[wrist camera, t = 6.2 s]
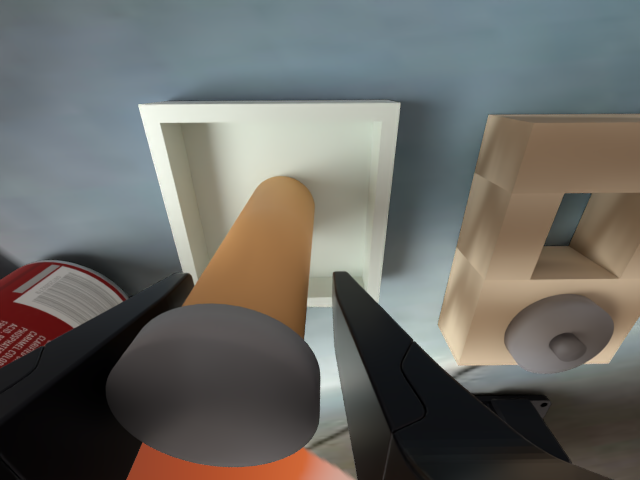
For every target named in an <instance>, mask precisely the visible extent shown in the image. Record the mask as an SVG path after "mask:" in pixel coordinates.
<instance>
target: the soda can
mask: <svg viewBox="0 0 640 480" xmlns="http://www.w3.org/2000/svg"><path fill="white" fill-rule="evenodd" d="M127 299H129V297H128V296H127V295H126V294H125V292H124V291H123V290H122V289H121V288H120V287H119V286H117V285H116V284H115V283H114V282H113V281H111V280H110V279H108V278H107V277H105V276H104V275H102V274H100V273H98V272H97V271H94V270H92V269H90V268H88V267H85V266H82V265H79V264H76V263H71V262H66V261H59V260H42V261H36V262H32V263H29V264H26V265H24V266H22V267H20V268H19V269H17V270H15V271H14V272H12V273H11V274H9V275H7V276H6V277H4V278H3V279H1V280H0V368H1V367H3V366H5V365H7V364H9V363H11V362H13V361H15V360H17V359H18V358H20V357H22V356H24V355H26V354H28V353H30V352H31V351H33V350H35V349H37V348H39V347H40V346H45V344H46V343H48V342H50V341H52V340H54V339H55V338H57V337H59V336H61V335H63V334H65V333H66V332H68V331H70V330H72V329H74V328H76V327H77V326H79V325H81V324H83V323H85V322H87V321H88V320H90V319H92V318H94V317H96V316H98V315H99V314H101V313H103V312H105V311H107V310H109V309H110V308H112V307H114V306H116V305H118V304H120V303H121V302H123V301H125V300H127Z"/></svg>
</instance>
